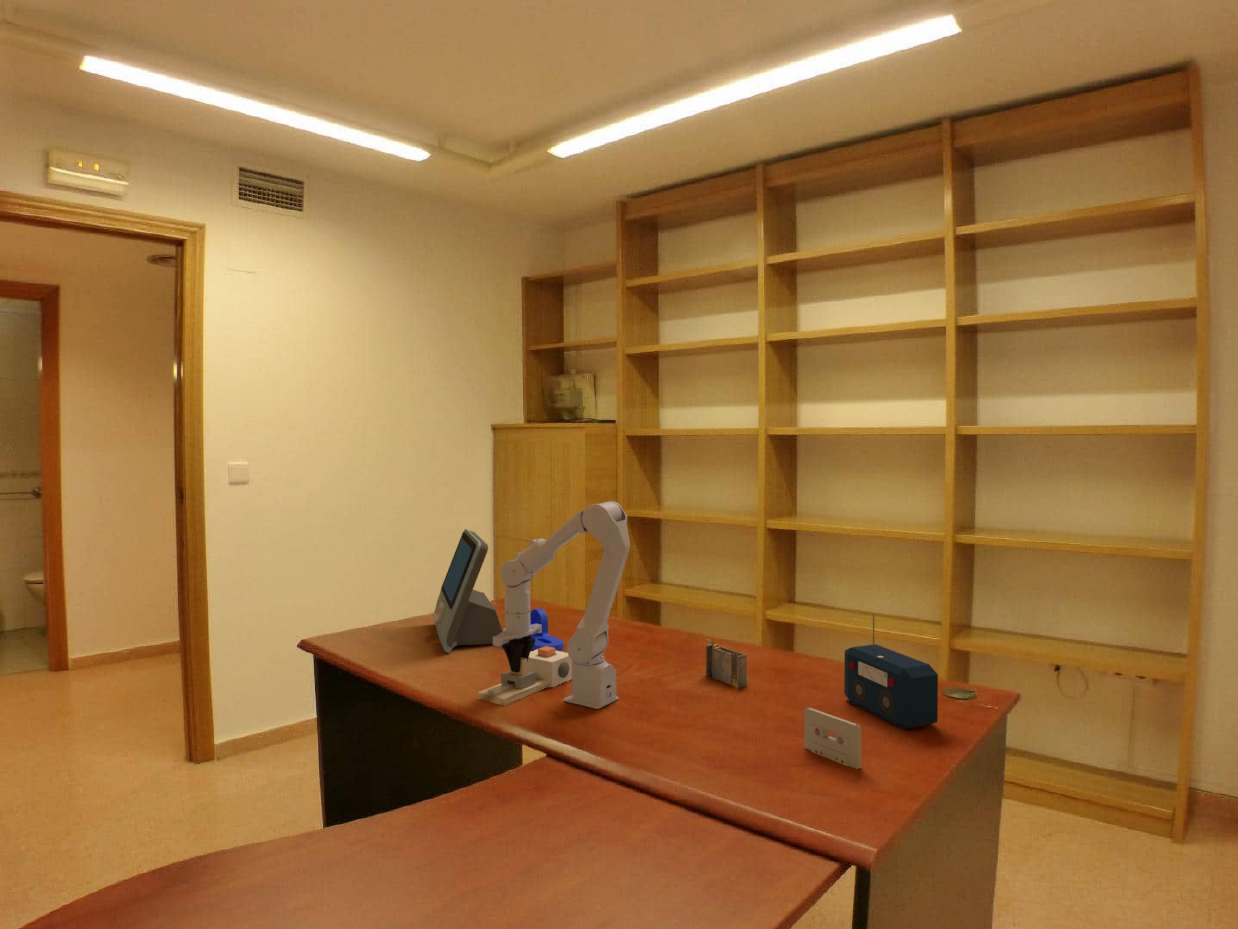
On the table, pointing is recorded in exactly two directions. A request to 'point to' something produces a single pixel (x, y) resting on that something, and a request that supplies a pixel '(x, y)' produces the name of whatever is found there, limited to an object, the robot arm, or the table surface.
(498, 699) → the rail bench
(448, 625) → the touchscreen device
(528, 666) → the cabinet
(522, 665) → the carriage
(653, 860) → the table surface
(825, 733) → the cassette
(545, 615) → the bracket
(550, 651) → the button
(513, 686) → the rail
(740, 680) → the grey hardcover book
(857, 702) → the radio
